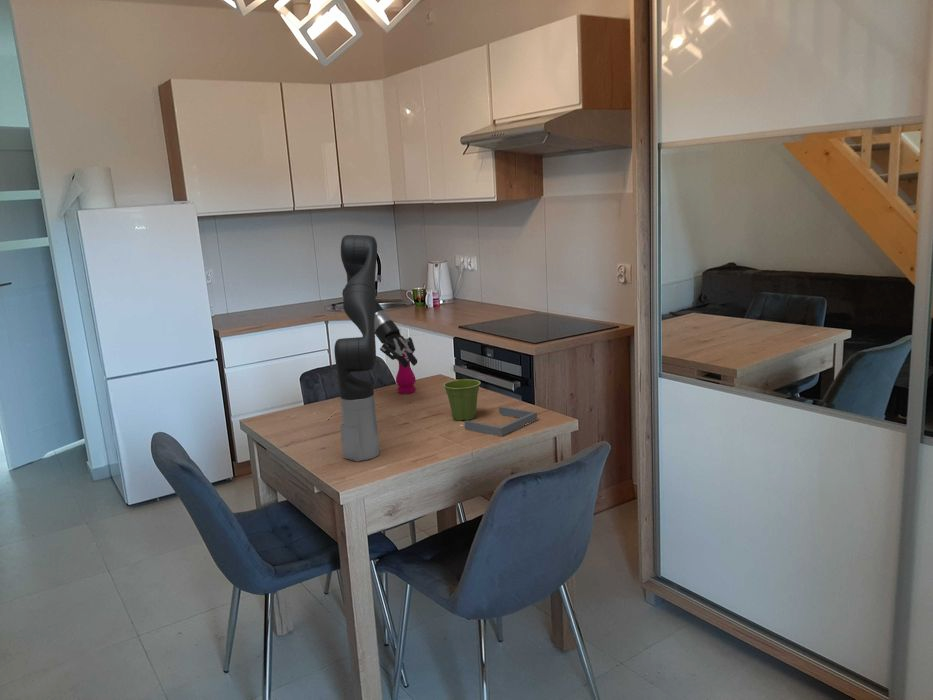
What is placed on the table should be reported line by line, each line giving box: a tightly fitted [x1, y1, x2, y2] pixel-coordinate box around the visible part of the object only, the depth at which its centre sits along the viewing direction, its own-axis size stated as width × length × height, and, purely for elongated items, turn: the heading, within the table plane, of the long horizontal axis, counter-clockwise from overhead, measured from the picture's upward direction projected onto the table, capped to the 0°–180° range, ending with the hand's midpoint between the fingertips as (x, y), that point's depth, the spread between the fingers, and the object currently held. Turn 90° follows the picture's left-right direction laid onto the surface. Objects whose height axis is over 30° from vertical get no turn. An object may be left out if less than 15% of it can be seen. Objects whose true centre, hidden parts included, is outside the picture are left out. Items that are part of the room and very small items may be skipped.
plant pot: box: [443, 378, 481, 421], centre depth 227 cm, size 12×12×11 cm
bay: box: [463, 406, 538, 437], centre depth 218 cm, size 18×14×2 cm
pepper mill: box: [395, 348, 417, 394], centre depth 262 cm, size 7×7×20 cm
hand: (411, 364), depth 239 cm, fingers open, 3 cm apart
